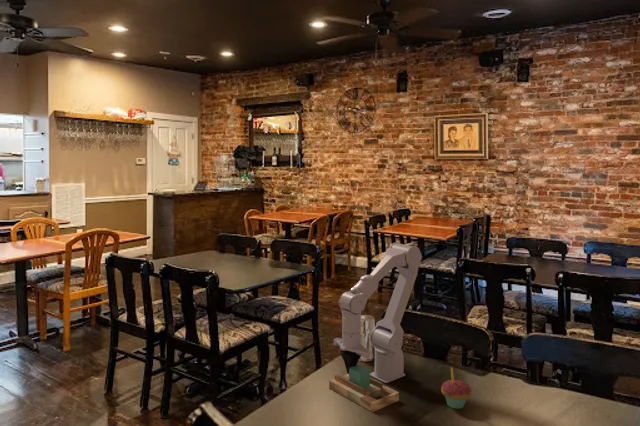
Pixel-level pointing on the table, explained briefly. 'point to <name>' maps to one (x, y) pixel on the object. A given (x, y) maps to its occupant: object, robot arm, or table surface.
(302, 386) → the table surface
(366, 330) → the beer glass
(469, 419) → the table surface
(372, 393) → the channel board
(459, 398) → the cupcake
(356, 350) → the robot arm
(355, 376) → the teal block
